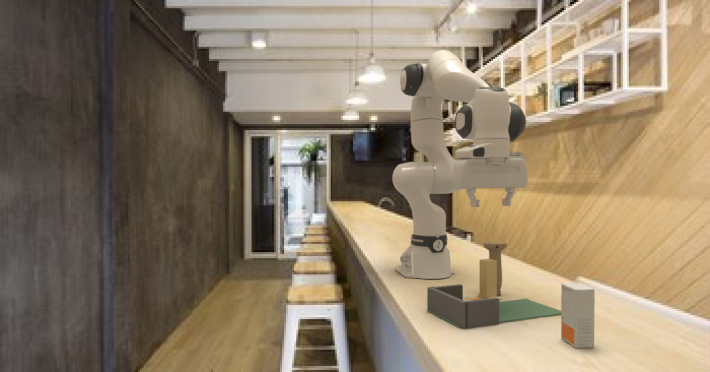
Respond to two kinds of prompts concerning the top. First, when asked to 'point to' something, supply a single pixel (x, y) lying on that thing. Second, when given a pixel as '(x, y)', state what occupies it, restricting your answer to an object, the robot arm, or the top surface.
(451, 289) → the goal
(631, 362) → the top surface
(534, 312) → the pitch
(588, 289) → the skincare box
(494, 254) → the handle
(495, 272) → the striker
